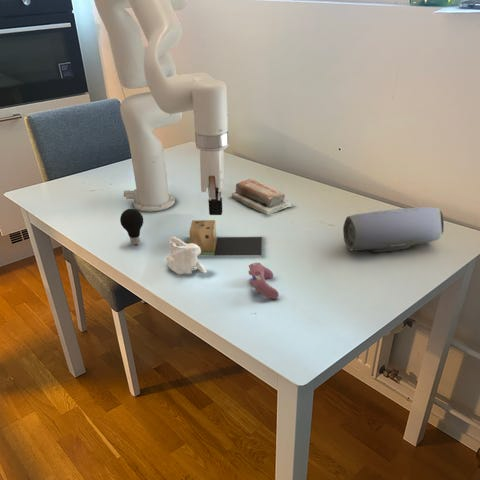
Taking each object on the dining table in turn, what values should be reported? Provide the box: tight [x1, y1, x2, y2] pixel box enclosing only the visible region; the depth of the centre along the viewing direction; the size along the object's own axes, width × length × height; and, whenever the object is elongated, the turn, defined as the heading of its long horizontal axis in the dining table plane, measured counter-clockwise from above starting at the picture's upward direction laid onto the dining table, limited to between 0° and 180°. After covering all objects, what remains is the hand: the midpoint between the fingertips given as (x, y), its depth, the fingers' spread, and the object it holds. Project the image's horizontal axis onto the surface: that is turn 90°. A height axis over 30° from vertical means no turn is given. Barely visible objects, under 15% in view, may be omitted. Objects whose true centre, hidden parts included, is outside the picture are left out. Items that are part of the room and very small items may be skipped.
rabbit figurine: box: [166, 236, 208, 275], centre depth 118 cm, size 12×8×10 cm, turn 49°
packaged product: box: [231, 178, 293, 215], centre depth 152 cm, size 18×5×10 cm
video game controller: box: [248, 261, 280, 300], centre depth 112 cm, size 10×5×7 cm, turn 5°
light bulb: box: [119, 208, 144, 246], centre depth 130 cm, size 6×6×10 cm
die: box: [188, 219, 218, 252], centre depth 128 cm, size 6×6×6 cm
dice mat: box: [185, 236, 263, 257], centre depth 130 cm, size 20×10×1 cm, turn 87°
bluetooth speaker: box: [342, 206, 445, 253], centre depth 125 cm, size 23×9×10 cm, turn 100°
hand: (215, 213), depth 125 cm, fingers closed
